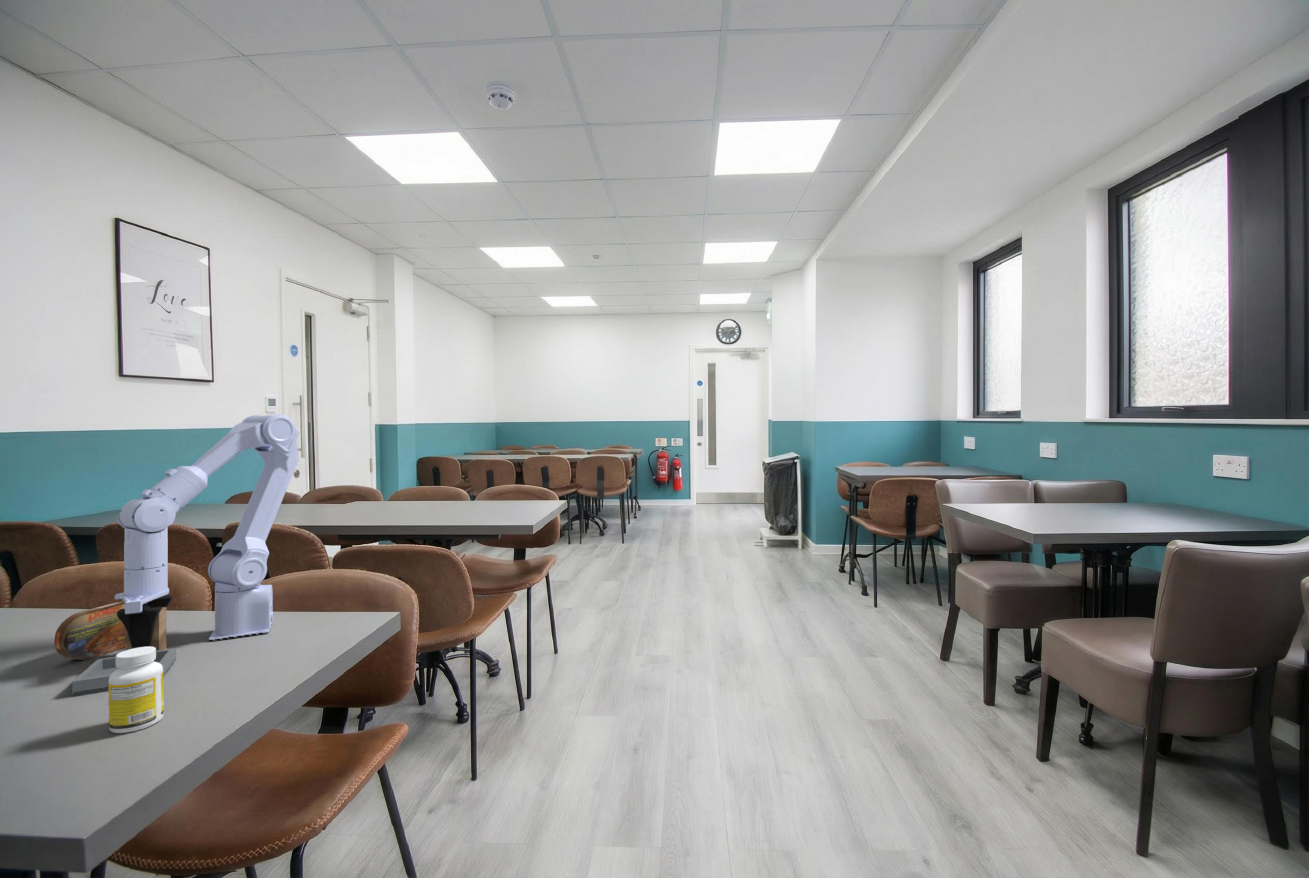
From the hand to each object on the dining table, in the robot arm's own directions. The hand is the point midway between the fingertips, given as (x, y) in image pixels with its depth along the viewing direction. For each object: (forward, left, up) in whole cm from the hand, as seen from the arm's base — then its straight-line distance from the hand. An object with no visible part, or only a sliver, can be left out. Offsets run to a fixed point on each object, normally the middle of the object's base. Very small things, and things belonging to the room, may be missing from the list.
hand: (146, 643), depth 98 cm
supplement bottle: (-6, +30, -3) cm, 31 cm away
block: (0, 0, -2) cm, 2 cm away
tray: (0, +9, -2) cm, 10 cm away
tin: (+7, -8, -3) cm, 11 cm away
